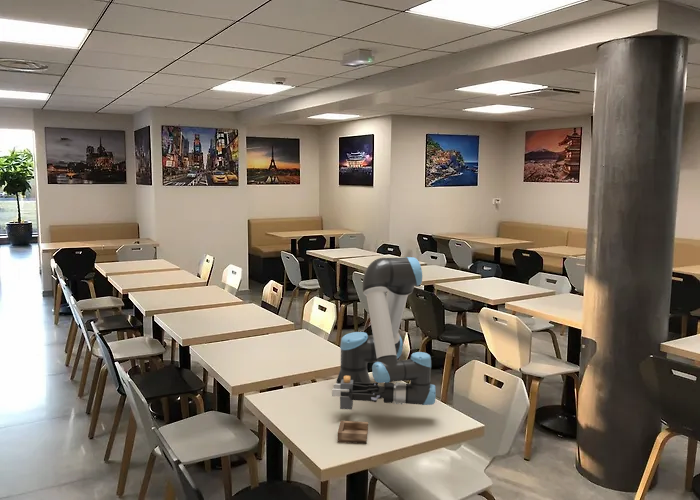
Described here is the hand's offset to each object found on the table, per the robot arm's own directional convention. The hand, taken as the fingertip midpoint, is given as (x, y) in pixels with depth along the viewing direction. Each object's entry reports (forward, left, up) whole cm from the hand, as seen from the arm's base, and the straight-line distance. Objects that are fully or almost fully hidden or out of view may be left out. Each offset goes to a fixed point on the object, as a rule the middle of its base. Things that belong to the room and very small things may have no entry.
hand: (332, 389), depth 216 cm
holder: (+12, +15, -11) cm, 22 cm away
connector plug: (-2, +5, -7) cm, 8 cm away
